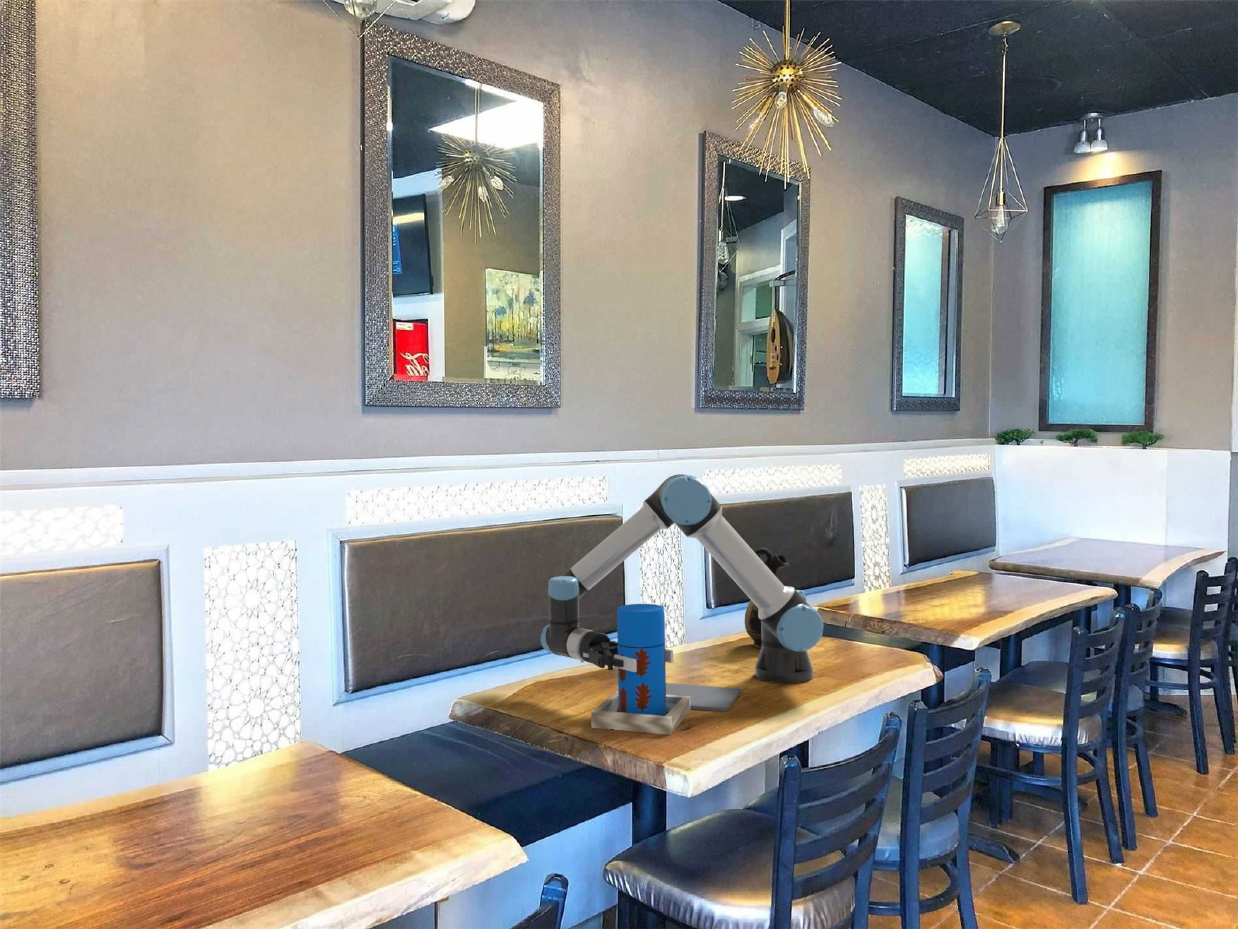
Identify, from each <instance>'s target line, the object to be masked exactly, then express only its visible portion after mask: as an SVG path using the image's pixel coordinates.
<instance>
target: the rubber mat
mask: <svg viewBox="0 0 1238 929" xmlns="http://www.w3.org/2000/svg"><path fill="white" fill-rule="evenodd" d="M740 692H742V688H740V687H726V686H711V685H700V684H698V685H697V684H685V683H684V684H683V683H671V682H670V683H668V682H666V695H678V696H691V710H698V711H699V710H702V711H712V712H713V711H715V712H727V711H728V710H729V708H730V707H732V705H733V703H734V702H735V700H737V698H738V697H737V696H740V694H741V693H740Z"/></svg>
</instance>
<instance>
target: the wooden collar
mask: <svg viewBox="0 0 1238 929" xmlns="http://www.w3.org/2000/svg"><path fill="white" fill-rule="evenodd" d="M666 712H667V713H666V716H658V715H646V714H634V713H622V712H619V697H618V690H617V691H616V692H614V693H612V695H611V696H609V697H608V698H607V699H605V701H603V702H602V703H601V704H600V705H598V706H597V707H596V708H594V709H593V710H592V711H591V714H590V718H591V721H590V722H591V723H590V724H591V725H590V726H591V729H592V728H593V729H600V730H601V729H602V730H610V729H614V731H622V730H623V731H624V732H632V733H633V732H634V733H644V732H645V734H646V733H647V734H654V735H657V734H658V735H667V736H668V735H669V736H671V735H672V733H674V731H675V730H676V729H677V728H678V727H679V726H680V724H682V722H683V721H684V720H685V718H686V717H688V715H689V714H690V713H691V712H692V709H691V696H678V695H666Z"/></svg>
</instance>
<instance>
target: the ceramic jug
mask: <svg viewBox="0 0 1238 929" xmlns="http://www.w3.org/2000/svg"><path fill="white" fill-rule="evenodd" d="M754 552H755V554H756V555H757V556H758V557H759V558H760V557H761V556H764V555H765V556H766V561H765V562H763V563H764V564H765V565H766V566H767V567H768V568H769V569H770V570H771V572H772V573H773V574H774V575H775V576H776V577H777V578H778V576H777V572H778V571H779V570H781V569H784V568H785V567H786V568H787V567H789V566H790V562H789V560H788V559H787V557H786V556H785V555H783V554H780V555H778V554H773V552H772V550H770V549H769V548H766V547H760V548H758V549H755V551H754ZM758 613H759V609H758V607H757V606H756V605H755V604H754V603H753V602H752V601H751V599H750V600H749V602H748V603H747V607H746V610H745V614H744V629H745V632H746V633H747V635H748V636H749V637H750V639H751V640H753V647H755V648H757V649H760V648H761V647H762V634H761V620H760V619H759V617H758Z"/></svg>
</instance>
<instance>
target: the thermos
mask: <svg viewBox="0 0 1238 929" xmlns="http://www.w3.org/2000/svg"><path fill="white" fill-rule="evenodd" d="M616 613H617V614H616V622H617V623H616V624H617V625H616V628H617V630H616V632H617V633H616V634H617V636H616V637H617V641H616V642H618V655H620V656H625V657H629V658H633V659H636V665H637V672H632V671H628V670H624V669H620V668H617V680H618V681H617V685H618V686H617V688H618V690H617V691H618V697H619V710H618V712H622V713H634V714H646V715H658V716H666V715H667V713H666V712H667V711H666V683H667V682H666V680H667V679H666V678H667V677H666V676H667V675H666V662H665V649H666V629H665V628H666V624H665V620H666V619H665V618H666V617H665V615H666V614H665V608H664V606H663V605H659V604H655V603H654V604H653V603H631V604H624V605H620V606H618V607H617V612H616Z"/></svg>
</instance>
